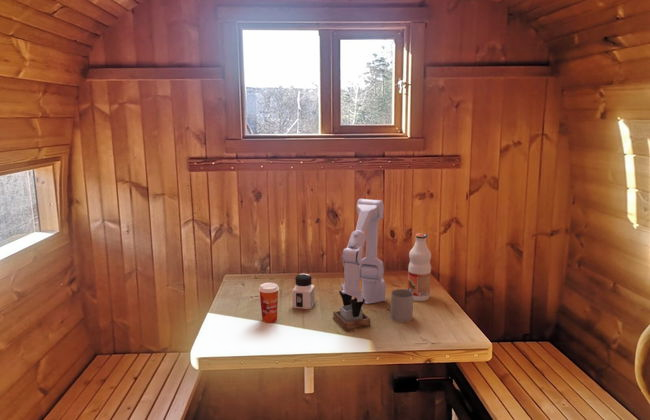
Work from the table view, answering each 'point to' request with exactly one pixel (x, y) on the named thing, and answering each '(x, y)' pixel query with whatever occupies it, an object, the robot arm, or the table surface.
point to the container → (303, 292)
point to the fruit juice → (419, 269)
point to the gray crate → (349, 314)
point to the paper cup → (269, 301)
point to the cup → (401, 305)
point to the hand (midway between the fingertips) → (351, 312)
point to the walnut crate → (351, 325)
